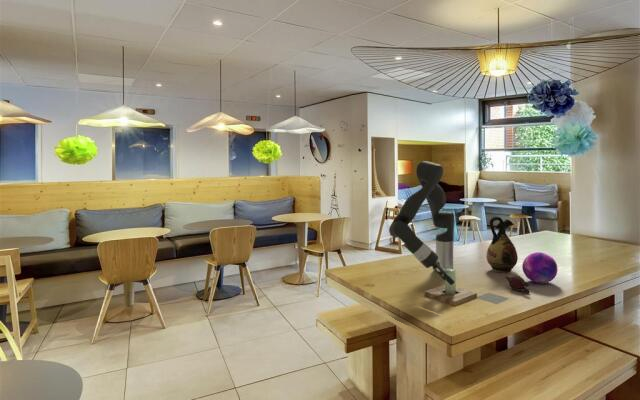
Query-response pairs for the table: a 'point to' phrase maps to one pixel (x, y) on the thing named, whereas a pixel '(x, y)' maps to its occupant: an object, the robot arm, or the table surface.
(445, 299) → the pocket block
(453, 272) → the ball
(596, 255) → the table surface
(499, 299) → the mat
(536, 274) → the decorative orb
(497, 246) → the ceramic jug
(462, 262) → the table surface
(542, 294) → the table surface
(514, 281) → the icecream
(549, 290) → the table surface
